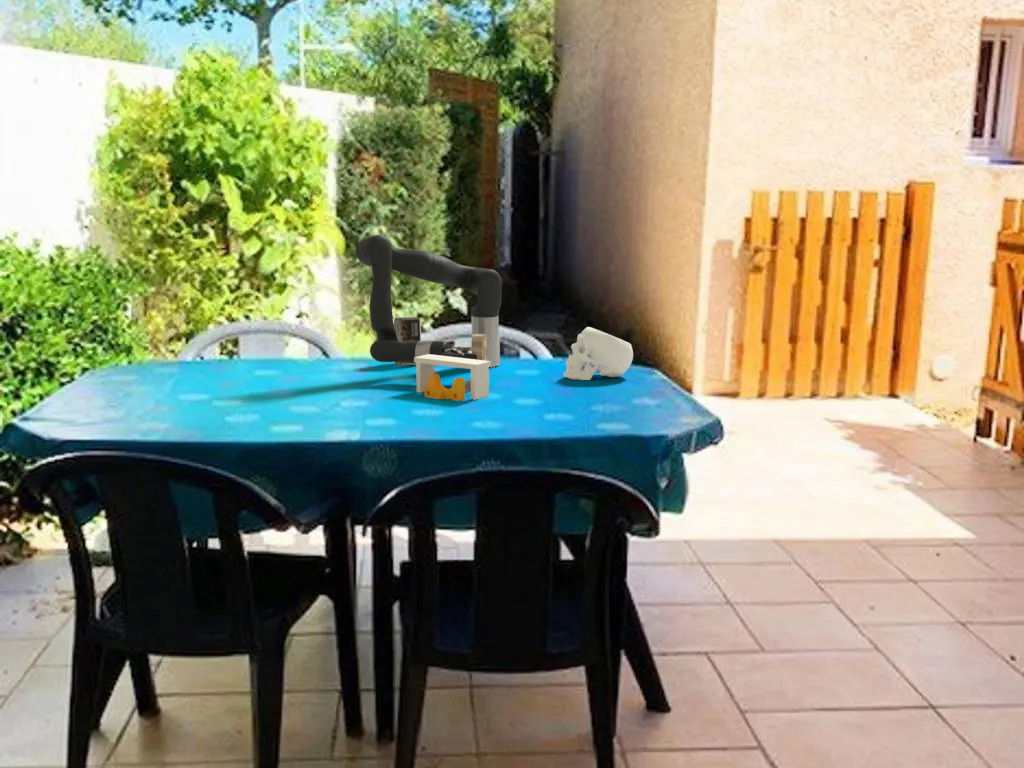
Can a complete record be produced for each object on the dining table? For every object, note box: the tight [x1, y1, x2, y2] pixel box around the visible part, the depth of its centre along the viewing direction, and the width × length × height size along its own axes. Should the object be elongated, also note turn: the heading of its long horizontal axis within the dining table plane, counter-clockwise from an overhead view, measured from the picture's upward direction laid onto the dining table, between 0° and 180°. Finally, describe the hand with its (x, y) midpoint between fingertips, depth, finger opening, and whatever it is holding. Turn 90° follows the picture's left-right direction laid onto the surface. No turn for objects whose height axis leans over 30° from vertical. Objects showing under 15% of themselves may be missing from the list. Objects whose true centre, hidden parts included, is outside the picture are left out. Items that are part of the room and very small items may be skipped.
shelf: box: [414, 354, 491, 401], centre depth 302 cm, size 7×23×10 cm, turn 57°
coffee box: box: [393, 316, 422, 367], centre depth 351 cm, size 9×6×16 cm
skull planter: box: [563, 326, 634, 381], centre depth 328 cm, size 14×20×19 cm
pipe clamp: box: [423, 373, 466, 402], centre depth 297 cm, size 12×4×6 cm, turn 51°
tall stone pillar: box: [465, 334, 486, 395], centre depth 306 cm, size 20×4×16 cm, turn 161°
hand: (481, 355), depth 313 cm, fingers open, 8 cm apart
